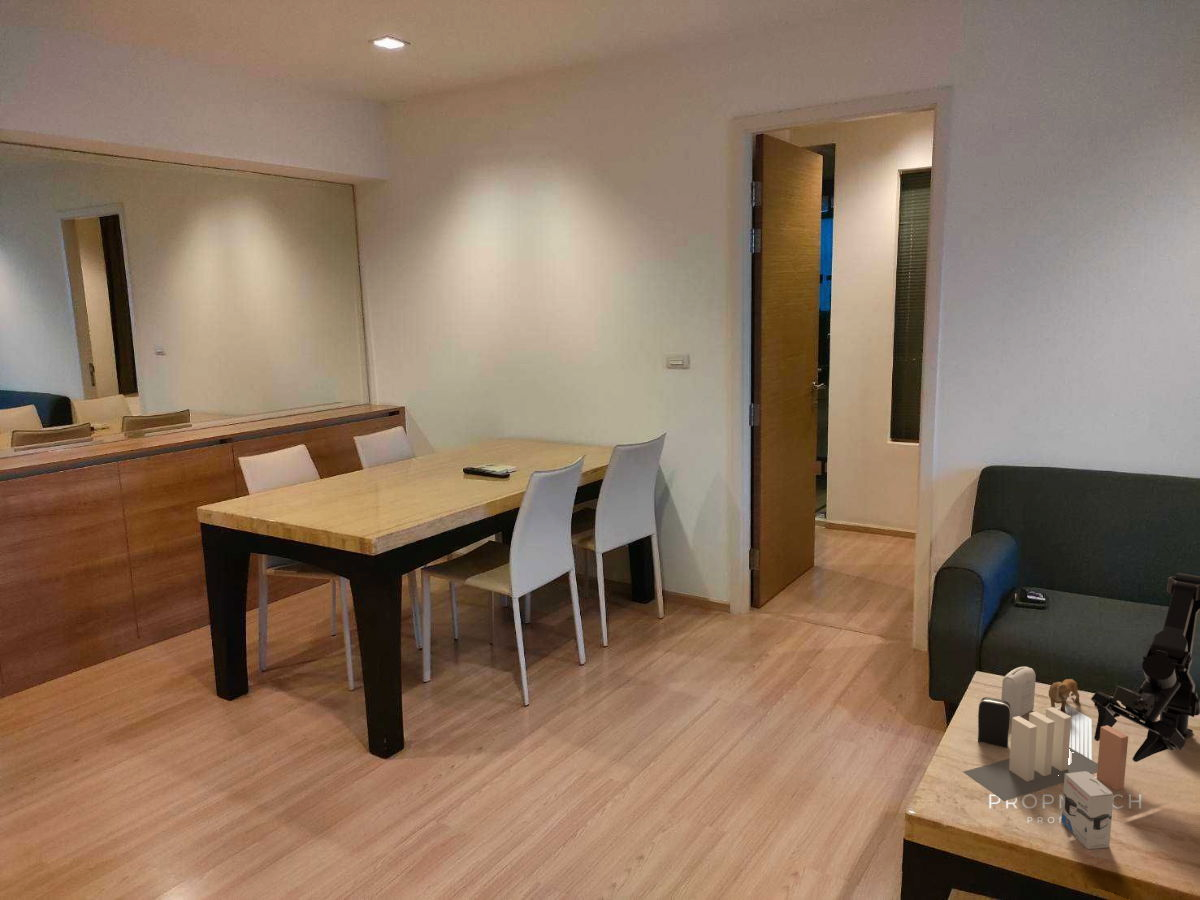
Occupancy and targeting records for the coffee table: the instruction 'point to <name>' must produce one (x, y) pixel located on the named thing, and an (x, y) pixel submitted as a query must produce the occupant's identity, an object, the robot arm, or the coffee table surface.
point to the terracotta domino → (1112, 757)
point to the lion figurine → (1063, 693)
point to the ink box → (1087, 809)
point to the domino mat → (1014, 786)
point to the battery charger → (994, 722)
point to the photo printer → (1019, 691)
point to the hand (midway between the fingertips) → (1114, 750)
